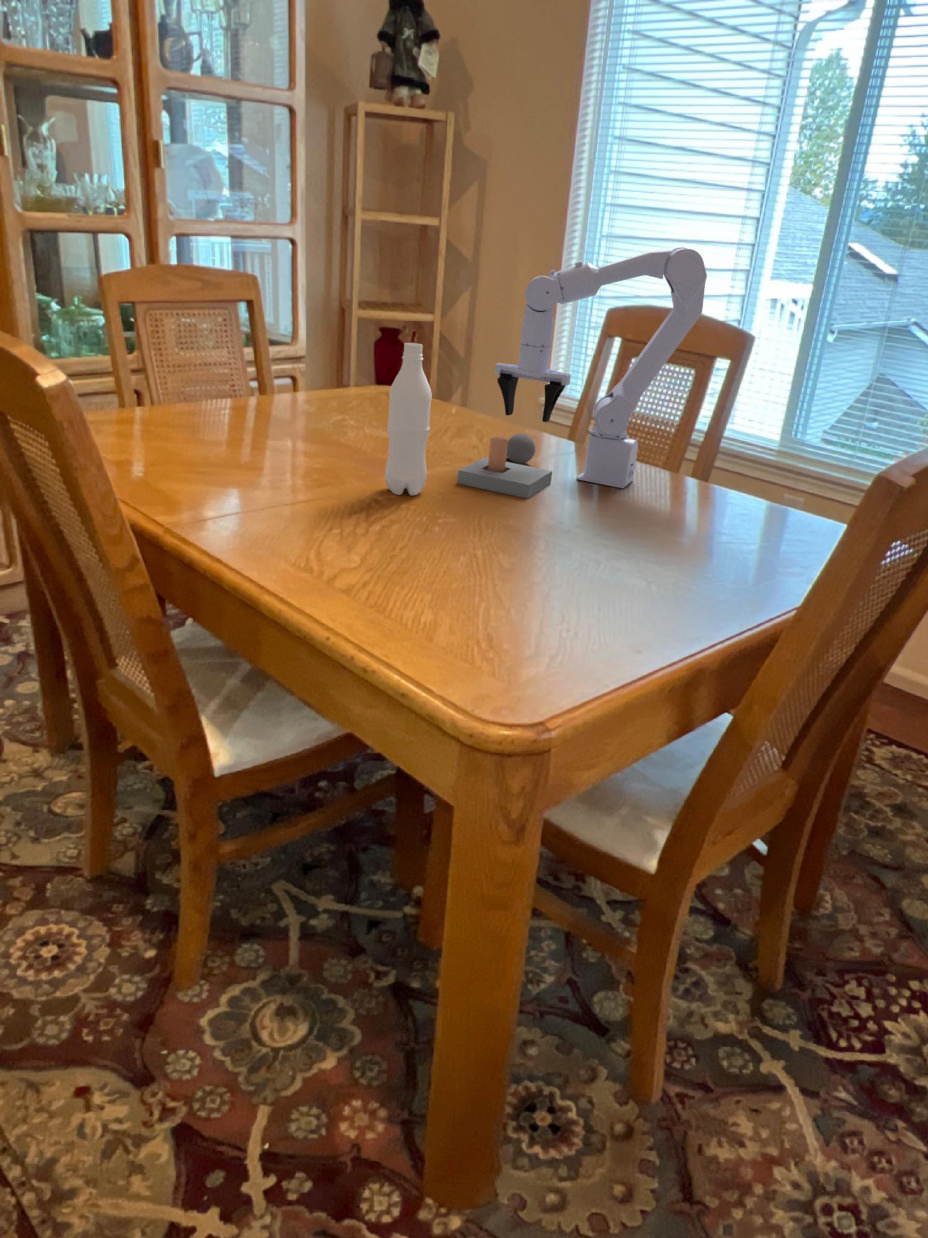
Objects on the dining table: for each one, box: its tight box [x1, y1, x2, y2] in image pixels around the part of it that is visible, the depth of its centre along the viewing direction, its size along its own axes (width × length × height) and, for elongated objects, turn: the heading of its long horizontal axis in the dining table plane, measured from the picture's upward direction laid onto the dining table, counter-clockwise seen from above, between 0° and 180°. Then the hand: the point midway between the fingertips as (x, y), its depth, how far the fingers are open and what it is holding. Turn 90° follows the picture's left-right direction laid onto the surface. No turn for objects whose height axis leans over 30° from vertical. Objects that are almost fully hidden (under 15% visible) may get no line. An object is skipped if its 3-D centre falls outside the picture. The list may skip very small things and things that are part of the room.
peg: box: [488, 436, 509, 473], centre depth 165 cm, size 3×3×8 cm
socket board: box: [456, 457, 553, 499], centre depth 165 cm, size 14×12×2 cm
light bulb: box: [506, 433, 536, 465], centre depth 181 cm, size 6×6×10 cm
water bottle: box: [384, 342, 433, 497], centre depth 150 cm, size 7×7×25 cm
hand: (527, 417), depth 171 cm, fingers open, 7 cm apart
